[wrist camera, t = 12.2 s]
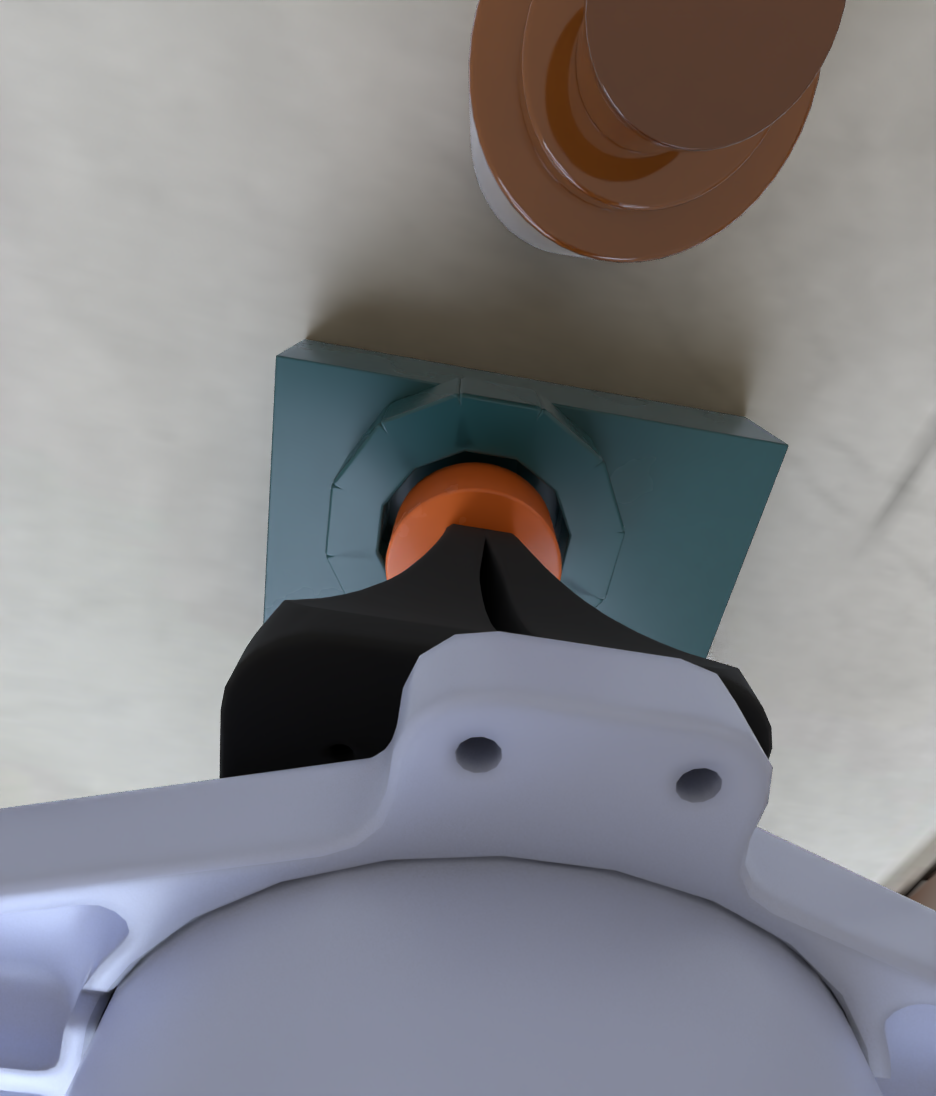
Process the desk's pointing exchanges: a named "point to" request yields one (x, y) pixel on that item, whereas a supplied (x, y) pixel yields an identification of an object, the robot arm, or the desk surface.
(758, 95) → the bottle
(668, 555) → the teal button housing
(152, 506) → the desk surface
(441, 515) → the button
